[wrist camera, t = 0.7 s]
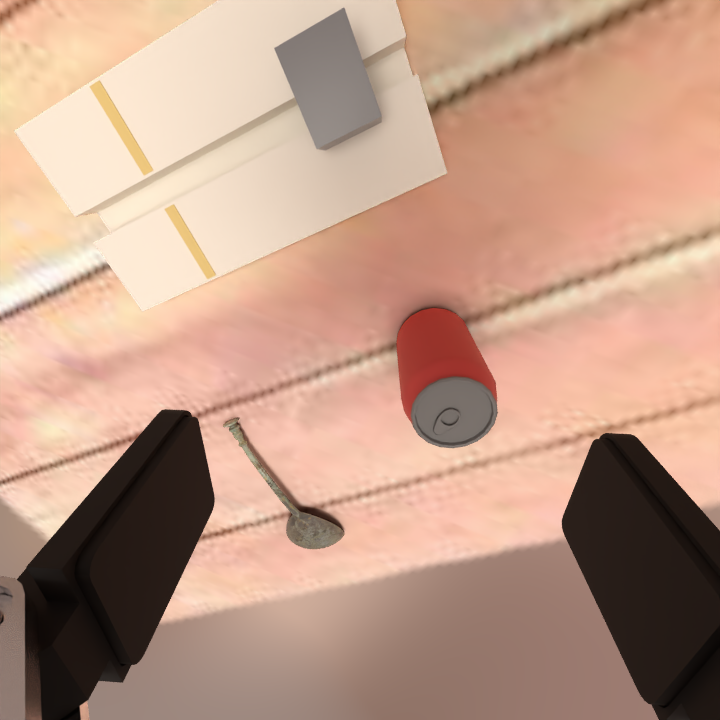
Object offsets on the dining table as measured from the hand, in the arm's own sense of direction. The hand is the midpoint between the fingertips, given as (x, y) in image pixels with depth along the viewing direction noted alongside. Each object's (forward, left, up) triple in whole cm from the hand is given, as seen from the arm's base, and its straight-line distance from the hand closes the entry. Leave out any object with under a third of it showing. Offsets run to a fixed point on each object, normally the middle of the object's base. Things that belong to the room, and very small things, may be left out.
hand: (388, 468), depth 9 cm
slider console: (+7, -11, -26) cm, 29 cm away
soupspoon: (+21, +21, -26) cm, 40 cm away
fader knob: (-1, -11, -24) cm, 27 cm away
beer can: (-1, +9, -26) cm, 28 cm away
